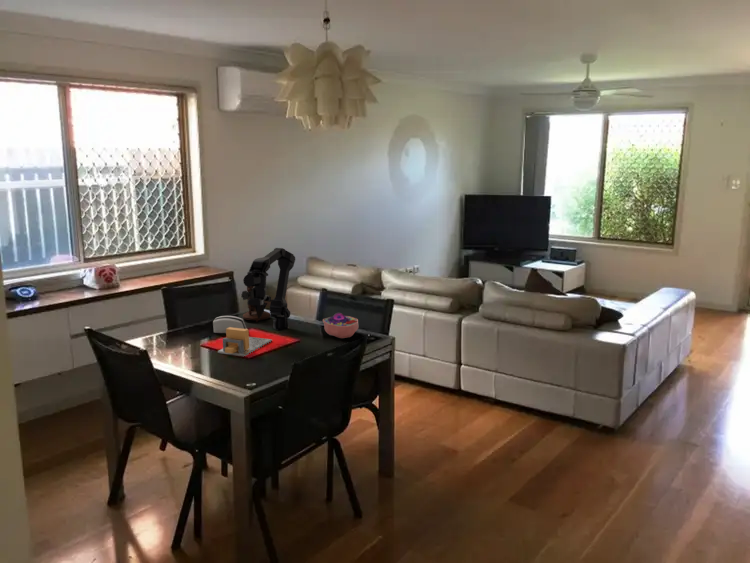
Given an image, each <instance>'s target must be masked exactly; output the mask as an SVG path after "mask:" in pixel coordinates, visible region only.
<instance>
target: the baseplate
mask: <svg viewBox="0 0 750 563" xmlns="http://www.w3.org/2000/svg"><path fill="white" fill-rule="evenodd" d="M271 341H272V342H273V339H271V338H261V337H254V336H249V349H247V350H244V344H243V340H241V339H233V338H226V337H224V338H222V348H221V349H219V350H217V354H223V355H230V356H237V357H244V356H245V357H247V356H248V355H250V354H251V352H252V353H253V351H254V352H255V350H256V349H257V350H259V349H261V348H263V347H264V346H263V345H265V344H266V345H268V344H270V343H272V342H271ZM228 342H232V343H238V351H236V352H234V353H225V348H226V347H228V346H229V344H228ZM269 342H270V343H269ZM267 343H268V344H267ZM266 345H265V346H266ZM262 346H263V347H262ZM260 347H261V348H260ZM258 348H259V349H258ZM257 350H256V351H257ZM249 353H250V354H249Z"/></svg>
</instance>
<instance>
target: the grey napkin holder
mask: <svg viewBox="0 0 750 563" xmlns="http://www.w3.org/2000/svg"><path fill="white" fill-rule="evenodd" d="M212 326H213V333H215V334H226V329H227V328H229V327H233V328H241V329H248V327H247V325H246V323H245V320H244V319H243V317H242V318H241V317H239V316H235V315H220V316H217V317H215V318H214V320H213V321H212Z"/></svg>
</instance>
